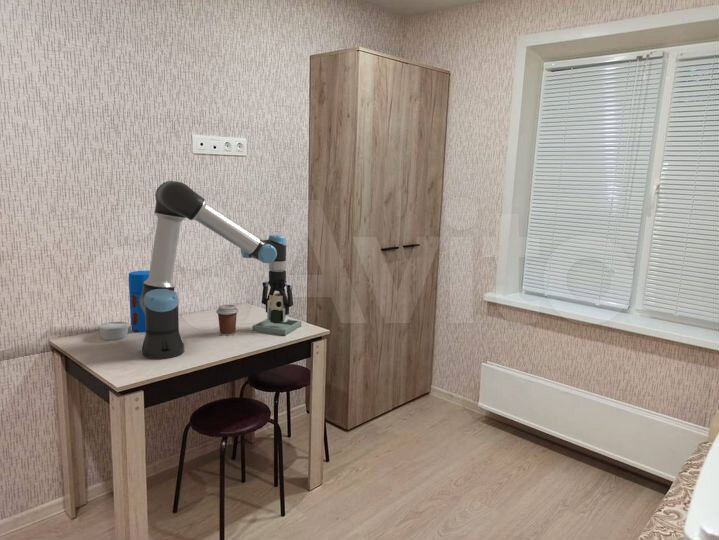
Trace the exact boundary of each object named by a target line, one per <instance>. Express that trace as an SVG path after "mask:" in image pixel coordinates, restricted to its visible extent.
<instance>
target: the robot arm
mask: <svg viewBox="0 0 719 540" xmlns="http://www.w3.org/2000/svg"><path fill="white" fill-rule="evenodd" d="M154 196H155V207H154V214H155V216H156V218H157V222H156V228H155V234H154V235H155V236H154V242H153V247H152V253H151V254H152V255H151V260H150V261H151V262H150V267H149V271H150V273H149V278H148V279H147V280H146V281H144V284H143V291H142V293H141V295H140V298H139V303H140V307H141V309H142V310H143V312H144V314H145V324H146V332H145V336H144V339H143V343H142V346H141V356H143V357H144V358H147V359H152V360H161V359H163V360H164V359H170V358H174V357H177V356H178V357H179V356H180V355H182V354H184V353H185V344H184V342H183V340H182V339H183V338H182V336H181V334H180V325H179V324H180V323H179V298H178V293H177V292H176V291H175V288H176V285H175V284H174V282H173V274H174V268H175V261H176V256H177V249H178V241H179V237H180V231H181V230H180V229H181V223H182V222H183V221H185V220H186V219H187V220H189V221H196V222H197V223H199V224H201V225H202V226H203V227H206V228H208V229H209V230H210V231H212V232H213V233H215V234H217V235H218V236H220V237H222V238H223V239H225V240H227V242H230V243H231V244H233V245H234V246H236V247H238V248H239V249H240V254H241V257H242V258H243V259H255V260H257V261H260V262H261V263H263V264H268V281H263V282H262V283H261V284H262V296H261V304H262V305H265V313H266V319H267V320H270V318H271V311H272V310H273V309H270V308H269V307H268V304H267V302H268V300H269V294H270V295H272V296H273V294H274V293H276V292H278V293H280V294H281V296H283V303H284V306H285V307H284V308H283V309H282V310H283V322H286V321H287V319H288V315H289V314H290V308H291V307H293V306H294V299H293V284H292V283H288V282H287V281H286V280H287V271H286V269H287V237H286V236H285V235H284V234H269V236H268V237H267V238H268V239H261V238H259V237H258V236H256V235H255V234H254V233H252V232H250V231H249V230H247V229H246V228H245V227H243V226H241V225H240V224H239V223H237V222H235V221H234V220H232V219H231V218H230V217H228V216H226V215H225V214H223V213H222V212H220V211H219V210H217V209H216V208H214V207H213V206H211V205H210V204H209V203H207V201H206V198H204V197H203V196H201V195H199V194H198V193H197V192H196V191H195V190H193V189H192V188H191V187H190V186H189V185H188V184H186V183H184V182H182V181H176V180H168V181H165V182H163V183H161V184H160V185H159V186H158V187H157V189H156V191H155V195H154ZM269 287H270V288H269ZM285 288H286V289H285Z"/></svg>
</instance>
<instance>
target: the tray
mask: <svg viewBox="0 0 719 540" xmlns="http://www.w3.org/2000/svg"><path fill="white" fill-rule="evenodd" d="M251 326H252V327H251V328H252V332H255V333H261V334H262V333H264V334H269V335H276V336H277V335H278V336H285V337H286V336H287V335H289V334H291V333H292V332H294V331H297V330H298V329H299V328H301V327H302V320H298V319H297V320H296V319H288V318H287V321H286V322H283V321H281V323H278V324H277V323H272V322H270V320H267V318H266V319H265V318H264V319H263V320H262V321H260V322H257V323H255V324H253V325H251ZM297 328H298V329H297Z"/></svg>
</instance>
